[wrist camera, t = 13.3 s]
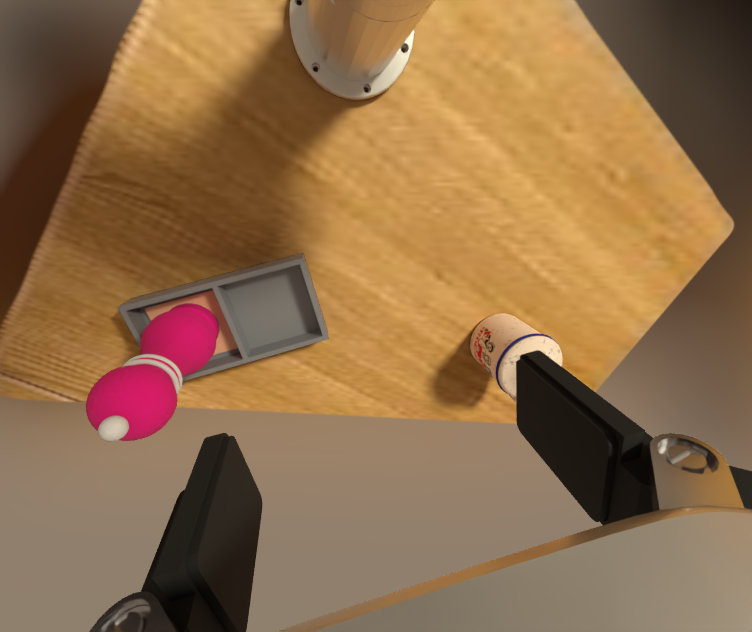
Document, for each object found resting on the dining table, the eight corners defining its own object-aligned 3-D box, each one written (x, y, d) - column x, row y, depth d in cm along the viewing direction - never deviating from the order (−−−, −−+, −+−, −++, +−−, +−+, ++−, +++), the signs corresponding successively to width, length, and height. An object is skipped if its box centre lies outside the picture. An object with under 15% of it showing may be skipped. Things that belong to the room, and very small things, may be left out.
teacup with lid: (465, 318, 50) (508, 355, 40) (523, 304, 51) (580, 336, 41) (470, 387, 55) (510, 436, 44) (523, 373, 56) (575, 418, 45)
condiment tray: (130, 298, 41) (117, 307, 38) (303, 252, 43) (303, 257, 40) (171, 374, 45) (162, 387, 42) (327, 329, 47) (328, 338, 44)
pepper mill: (169, 357, 43) (70, 486, 25) (150, 303, 40) (24, 402, 22) (229, 348, 44) (178, 465, 26) (215, 295, 42) (146, 383, 23)
